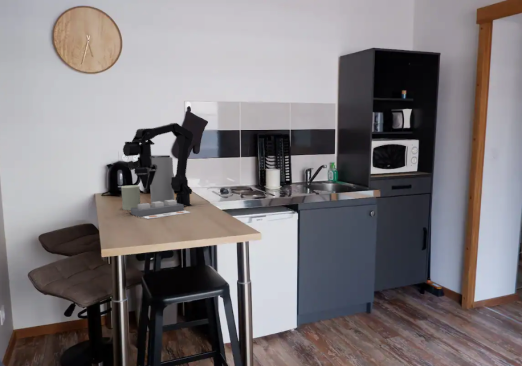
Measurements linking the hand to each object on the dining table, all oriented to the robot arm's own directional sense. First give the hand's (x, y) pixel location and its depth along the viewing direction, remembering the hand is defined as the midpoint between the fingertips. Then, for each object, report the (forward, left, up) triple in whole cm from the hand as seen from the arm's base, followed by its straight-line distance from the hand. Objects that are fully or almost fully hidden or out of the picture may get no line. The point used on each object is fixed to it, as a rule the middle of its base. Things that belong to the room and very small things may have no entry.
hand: (147, 186), depth 216 cm
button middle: (-2, +5, -10) cm, 12 cm away
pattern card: (-2, +15, -13) cm, 20 cm away
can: (+3, -15, -13) cm, 20 cm away
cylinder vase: (-16, -18, -13) cm, 27 cm away
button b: (-9, +5, -10) cm, 15 cm away
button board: (-2, +5, -13) cm, 14 cm away
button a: (+5, +5, -10) cm, 12 cm away
